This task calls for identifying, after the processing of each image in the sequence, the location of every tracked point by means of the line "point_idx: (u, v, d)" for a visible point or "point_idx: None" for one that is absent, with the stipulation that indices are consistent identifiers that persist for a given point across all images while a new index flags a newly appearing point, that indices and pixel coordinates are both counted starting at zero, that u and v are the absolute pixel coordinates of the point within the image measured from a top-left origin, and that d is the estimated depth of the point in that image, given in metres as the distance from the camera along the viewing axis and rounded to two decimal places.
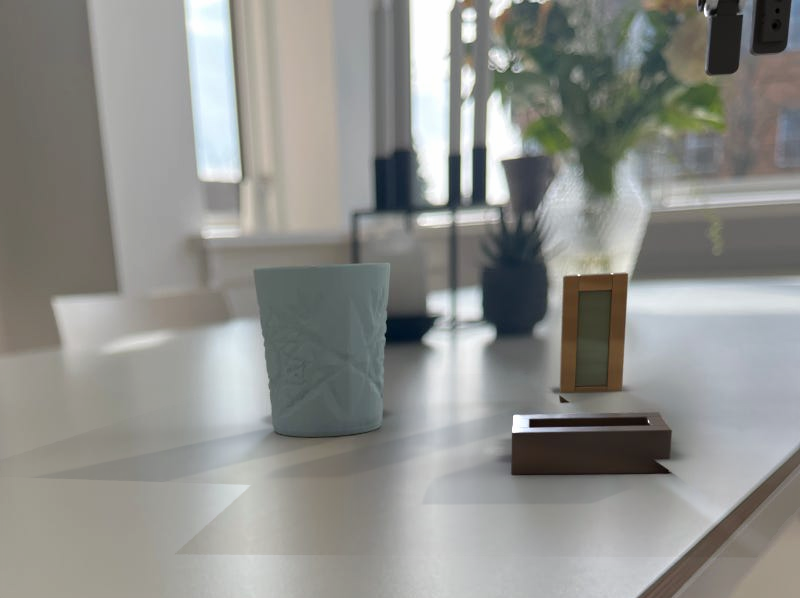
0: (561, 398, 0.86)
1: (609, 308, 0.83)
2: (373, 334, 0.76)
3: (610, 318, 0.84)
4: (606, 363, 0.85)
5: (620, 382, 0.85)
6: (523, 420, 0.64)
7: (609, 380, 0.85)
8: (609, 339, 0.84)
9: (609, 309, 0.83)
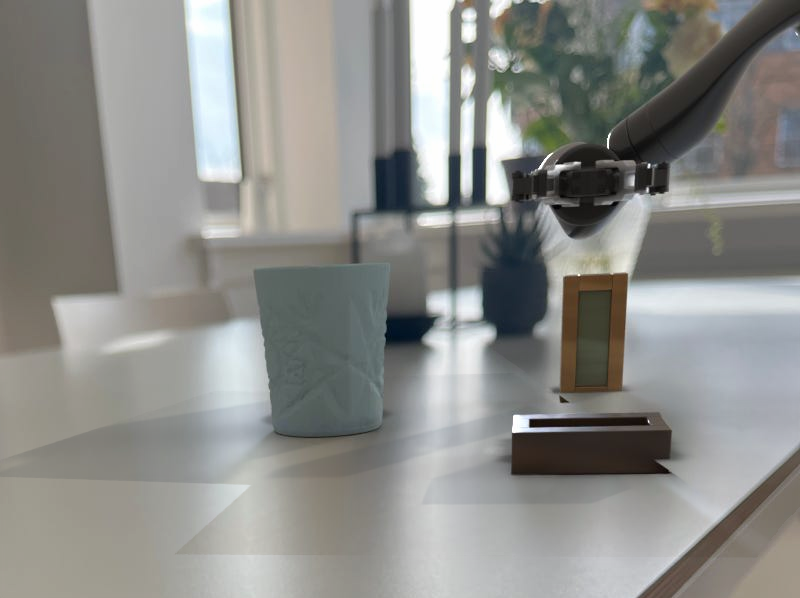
0: (561, 398, 0.86)
1: (609, 308, 0.83)
2: (373, 334, 0.76)
3: (610, 318, 0.84)
4: (606, 363, 0.85)
5: (620, 382, 0.85)
6: (523, 420, 0.64)
7: (609, 380, 0.85)
8: (609, 339, 0.84)
9: (609, 309, 0.83)
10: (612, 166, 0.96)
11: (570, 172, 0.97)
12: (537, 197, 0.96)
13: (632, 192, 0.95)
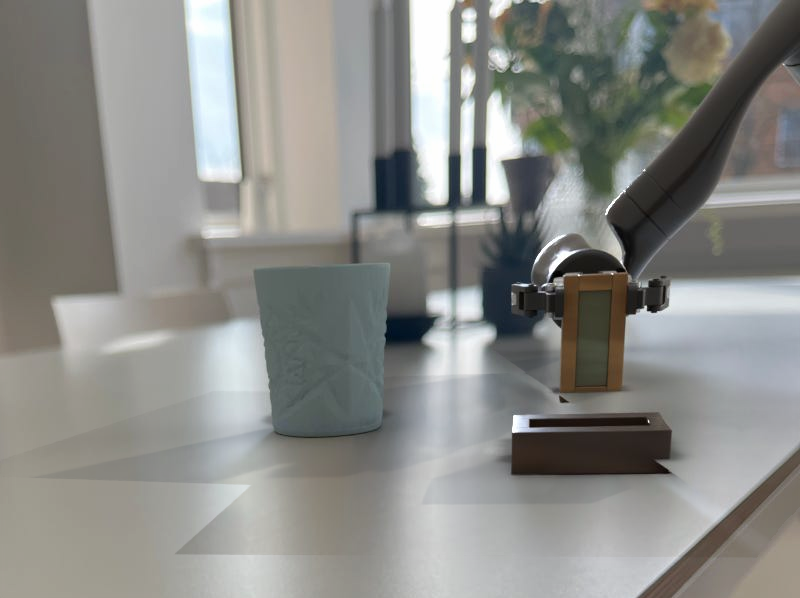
0: (561, 398, 0.86)
1: (609, 308, 0.83)
2: (373, 334, 0.76)
3: (610, 318, 0.84)
4: (606, 363, 0.85)
5: (620, 382, 0.85)
6: (523, 420, 0.64)
7: (609, 381, 0.85)
8: (609, 339, 0.84)
9: (609, 309, 0.83)
10: None
11: None
12: (554, 314, 0.86)
13: None
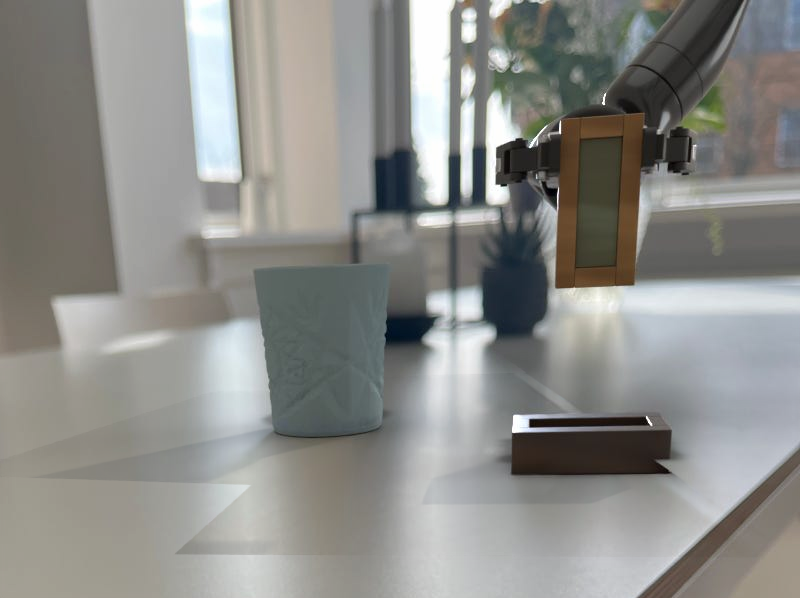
0: (557, 283, 0.67)
1: (619, 162, 0.64)
2: (373, 334, 0.76)
3: (620, 175, 0.65)
4: (615, 236, 0.66)
5: (633, 260, 0.66)
6: (523, 420, 0.64)
7: (618, 259, 0.66)
8: (619, 203, 0.65)
9: (619, 163, 0.64)
10: None
11: None
12: (549, 175, 0.67)
13: None
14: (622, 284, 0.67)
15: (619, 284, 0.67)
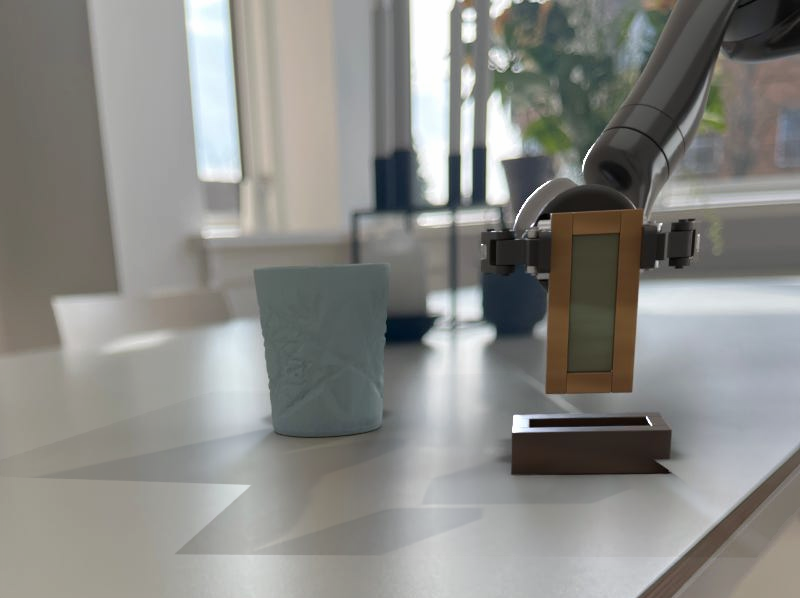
0: (547, 389, 0.61)
1: (616, 260, 0.58)
2: (373, 334, 0.76)
3: (617, 274, 0.58)
4: (611, 339, 0.60)
5: (631, 366, 0.60)
6: (523, 420, 0.64)
7: (615, 364, 0.60)
8: (615, 304, 0.59)
9: (616, 261, 0.58)
10: None
11: None
12: None
13: None
14: (619, 391, 0.61)
15: (615, 391, 0.61)
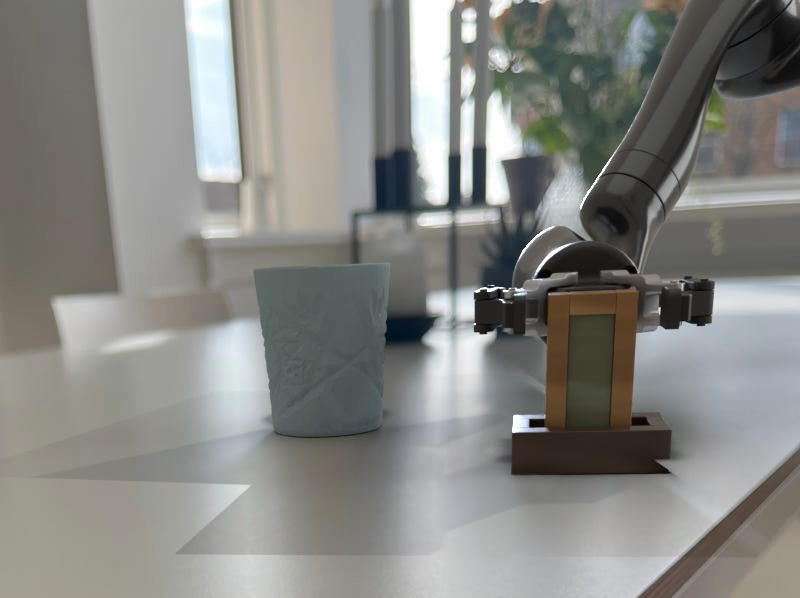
0: None
1: (612, 339, 0.60)
2: (373, 334, 0.76)
3: (613, 353, 0.60)
4: (608, 414, 0.62)
5: None
6: (523, 420, 0.64)
7: None
8: (611, 381, 0.61)
9: (612, 340, 0.60)
10: (624, 282, 0.64)
11: (562, 290, 0.64)
12: (512, 330, 0.63)
13: (656, 324, 0.62)
14: None
15: None
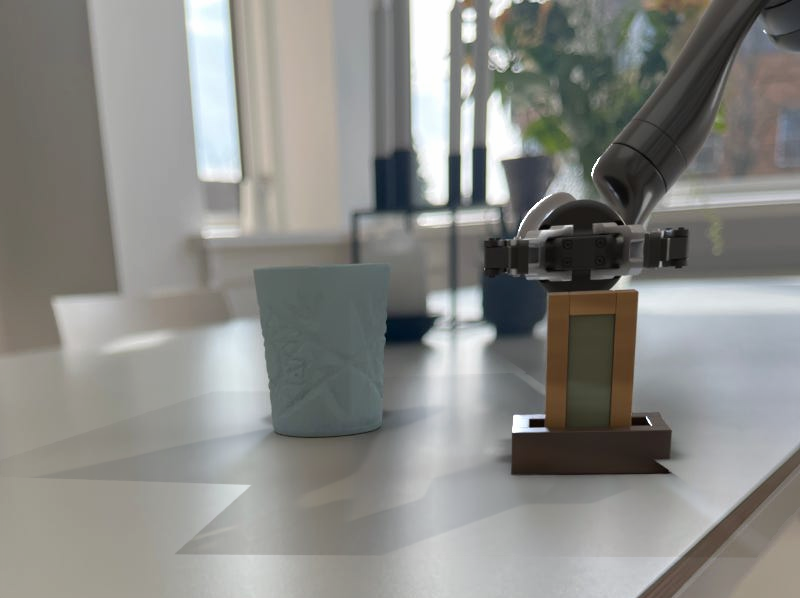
0: None
1: (612, 339, 0.60)
2: (373, 334, 0.76)
3: (613, 353, 0.60)
4: (607, 414, 0.62)
5: None
6: (523, 420, 0.64)
7: None
8: (612, 381, 0.61)
9: (612, 341, 0.60)
10: (613, 232, 0.74)
11: (559, 239, 0.75)
12: (517, 272, 0.74)
13: (640, 266, 0.73)
14: None
15: None
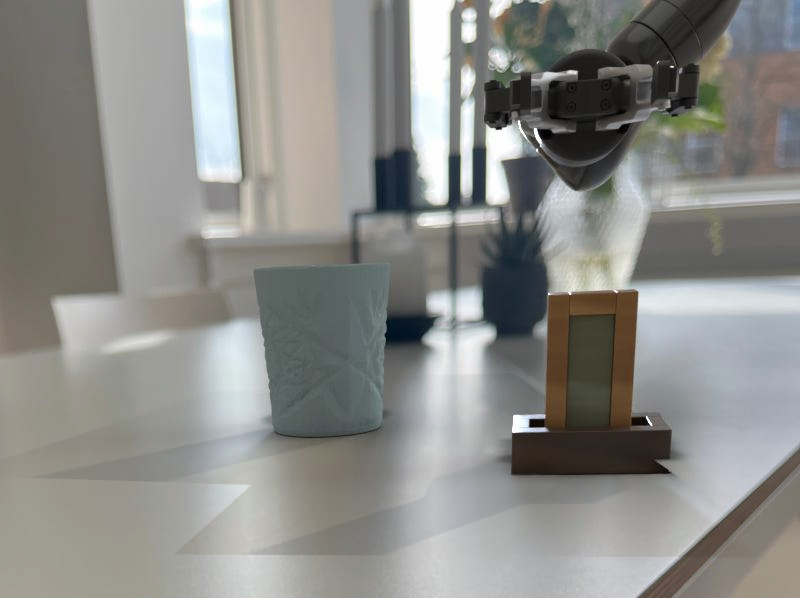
0: None
1: (612, 339, 0.60)
2: (373, 334, 0.76)
3: (613, 353, 0.60)
4: (608, 414, 0.62)
5: None
6: (523, 420, 0.64)
7: None
8: (611, 381, 0.61)
9: (612, 340, 0.60)
10: (619, 74, 0.71)
11: (563, 83, 0.72)
12: (518, 115, 0.71)
13: (648, 107, 0.70)
14: None
15: None
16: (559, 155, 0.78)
